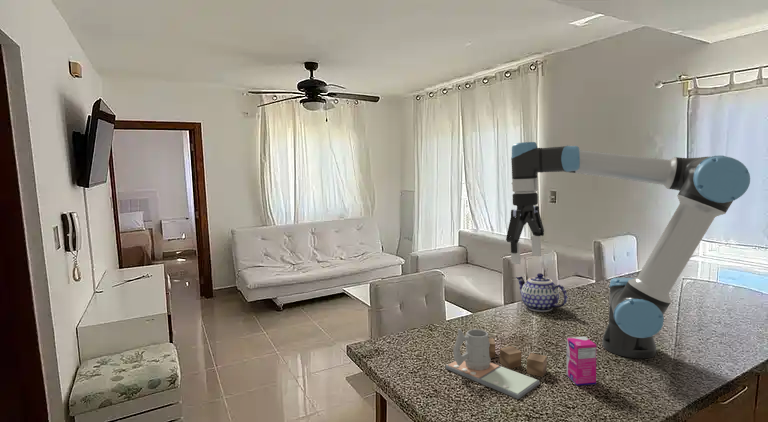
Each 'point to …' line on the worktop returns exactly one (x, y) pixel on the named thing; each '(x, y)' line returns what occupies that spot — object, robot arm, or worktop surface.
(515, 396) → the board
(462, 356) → the mug
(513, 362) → the walnut block
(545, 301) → the teapot
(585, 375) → the supplement box
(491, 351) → the walnut block
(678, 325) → the worktop surface
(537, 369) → the walnut block
